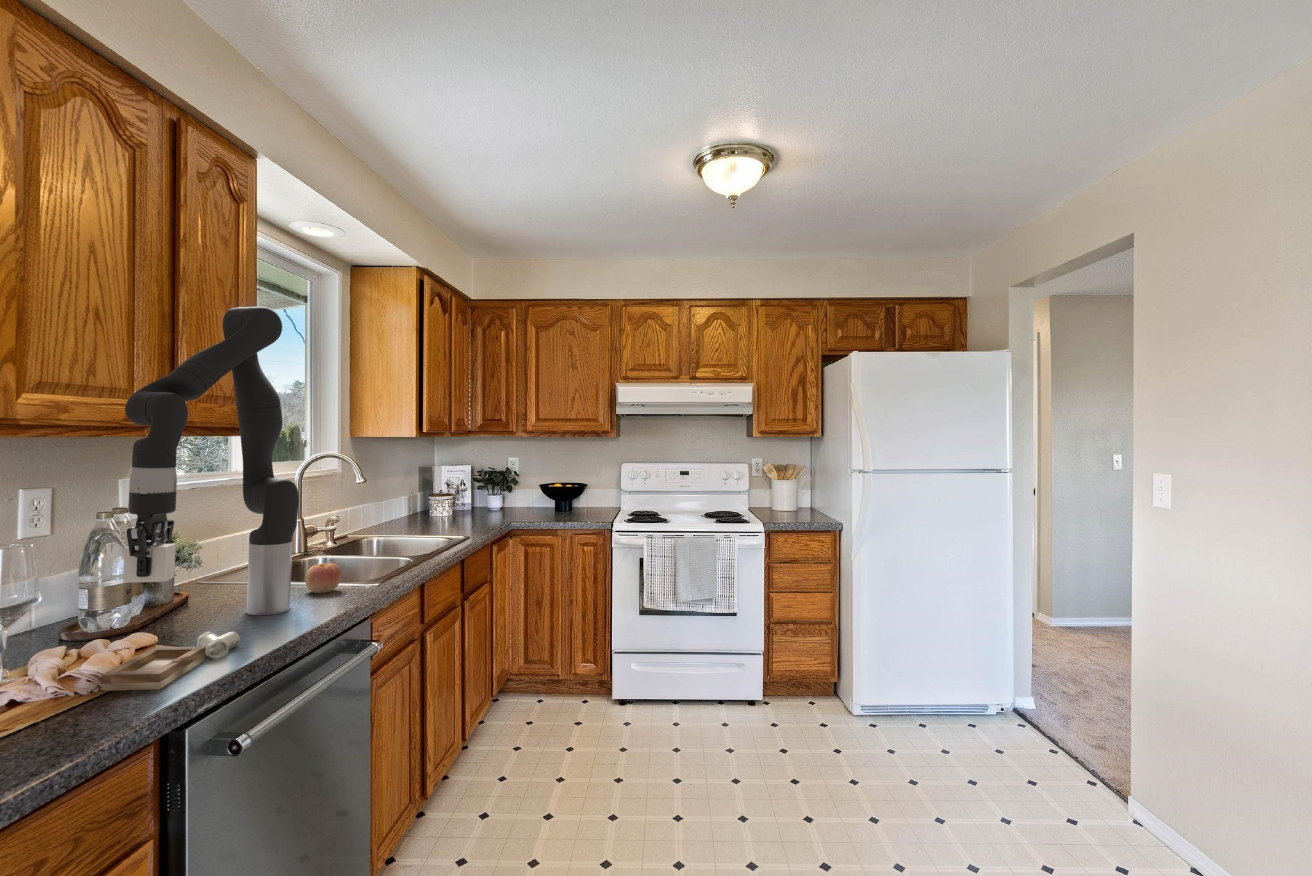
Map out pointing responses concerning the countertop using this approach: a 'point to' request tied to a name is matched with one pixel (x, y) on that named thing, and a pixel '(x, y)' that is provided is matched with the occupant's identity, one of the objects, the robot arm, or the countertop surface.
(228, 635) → the pipe fitting
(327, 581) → the apple
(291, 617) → the countertop surface
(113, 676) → the shallow brown rectangular tray
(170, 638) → the countertop surface
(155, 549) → the white rectangular block
